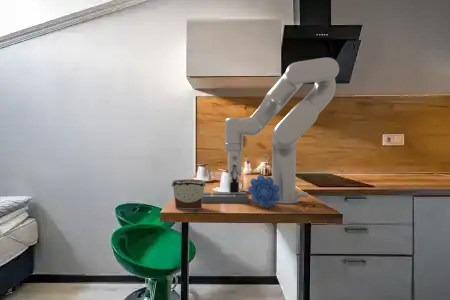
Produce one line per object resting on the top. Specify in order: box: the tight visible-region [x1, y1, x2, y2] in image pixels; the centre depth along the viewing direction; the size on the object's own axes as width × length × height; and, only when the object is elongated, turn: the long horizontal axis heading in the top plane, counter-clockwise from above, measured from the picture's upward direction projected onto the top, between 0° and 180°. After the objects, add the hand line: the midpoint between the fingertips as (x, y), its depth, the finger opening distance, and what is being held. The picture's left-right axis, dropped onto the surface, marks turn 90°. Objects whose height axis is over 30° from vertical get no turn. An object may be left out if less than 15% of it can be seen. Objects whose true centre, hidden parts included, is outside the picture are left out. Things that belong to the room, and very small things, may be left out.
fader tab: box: [228, 177, 240, 195], centre depth 145 cm, size 4×3×7 cm
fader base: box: [202, 191, 249, 204], centre depth 145 cm, size 19×12×3 cm, turn 92°
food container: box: [171, 178, 207, 210], centre depth 130 cm, size 12×6×10 cm, turn 84°
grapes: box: [247, 174, 280, 209], centre depth 129 cm, size 12×7×12 cm, turn 86°
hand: (233, 190), depth 145 cm, fingers open, 7 cm apart
